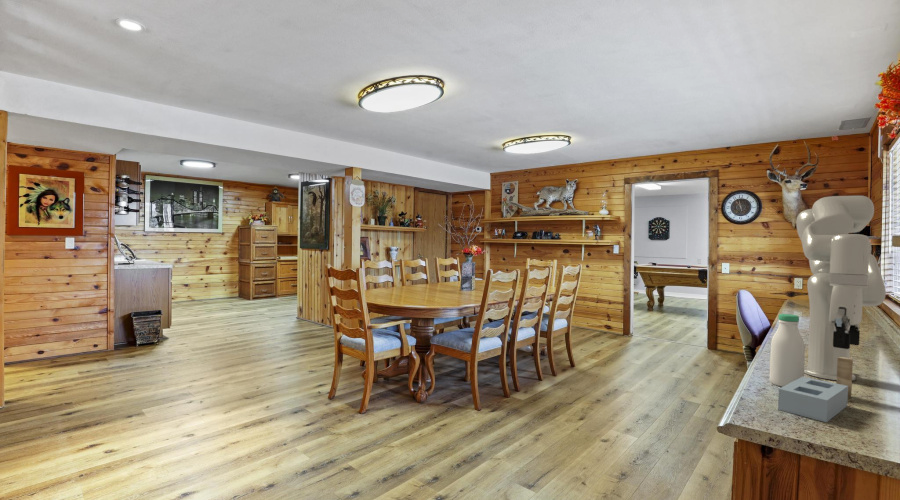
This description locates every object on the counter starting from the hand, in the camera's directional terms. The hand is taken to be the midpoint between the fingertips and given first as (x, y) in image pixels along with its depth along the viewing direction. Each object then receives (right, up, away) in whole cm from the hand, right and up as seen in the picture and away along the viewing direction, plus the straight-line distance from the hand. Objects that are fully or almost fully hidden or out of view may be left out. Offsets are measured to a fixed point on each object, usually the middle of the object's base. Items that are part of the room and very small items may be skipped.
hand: (846, 346), depth 115 cm
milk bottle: (-9, -13, +9) cm, 18 cm away
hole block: (-16, -13, -8) cm, 22 cm away
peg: (0, -13, +1) cm, 13 cm away
